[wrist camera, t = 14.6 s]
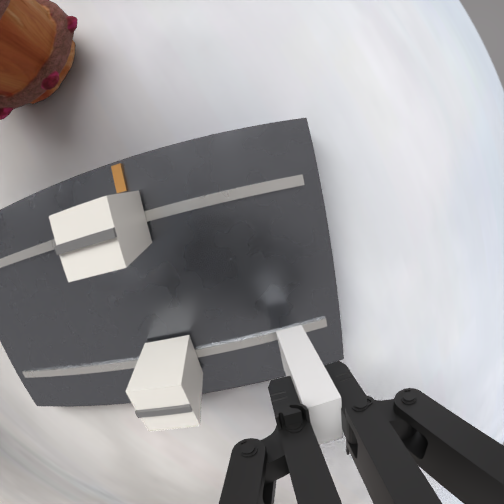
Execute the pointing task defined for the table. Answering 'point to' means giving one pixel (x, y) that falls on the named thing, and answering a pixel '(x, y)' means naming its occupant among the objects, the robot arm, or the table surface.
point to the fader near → (100, 235)
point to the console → (177, 268)
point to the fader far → (167, 385)
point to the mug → (33, 51)
